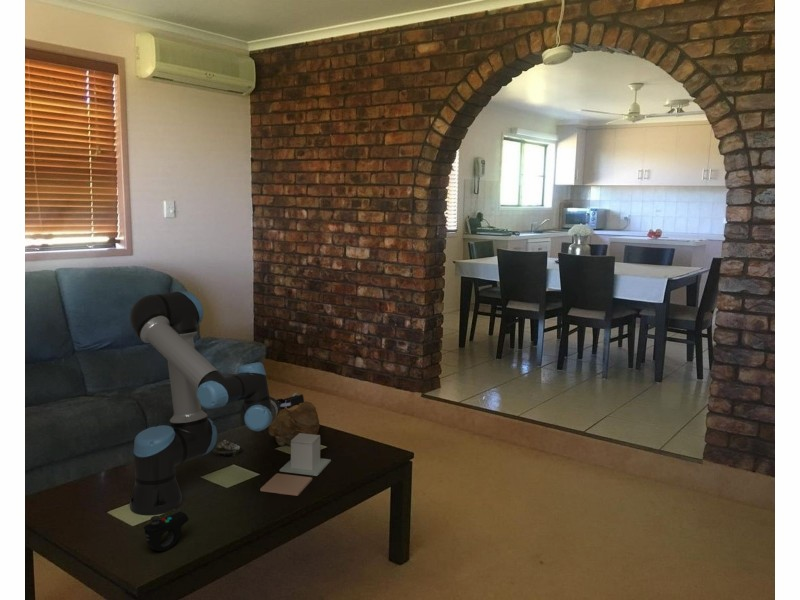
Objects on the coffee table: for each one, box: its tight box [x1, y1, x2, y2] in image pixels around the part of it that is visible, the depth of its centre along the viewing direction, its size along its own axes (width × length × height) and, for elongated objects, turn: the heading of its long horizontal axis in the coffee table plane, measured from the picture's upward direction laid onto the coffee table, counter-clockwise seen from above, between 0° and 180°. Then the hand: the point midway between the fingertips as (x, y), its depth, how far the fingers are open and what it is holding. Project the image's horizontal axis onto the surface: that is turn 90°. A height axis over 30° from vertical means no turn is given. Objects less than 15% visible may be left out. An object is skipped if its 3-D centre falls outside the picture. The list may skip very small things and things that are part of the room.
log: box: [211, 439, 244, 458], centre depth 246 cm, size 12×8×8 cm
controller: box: [143, 511, 189, 552], centre depth 175 cm, size 4×12×10 cm, turn 146°
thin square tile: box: [259, 473, 313, 497], centre depth 217 cm, size 13×13×1 cm
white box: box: [290, 433, 321, 470], centre depth 233 cm, size 8×8×10 cm
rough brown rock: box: [268, 401, 321, 447], centre depth 255 cm, size 23×17×15 cm
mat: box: [279, 457, 332, 477], centre depth 233 cm, size 14×14×1 cm
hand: (277, 399), depth 222 cm, fingers open, 13 cm apart
